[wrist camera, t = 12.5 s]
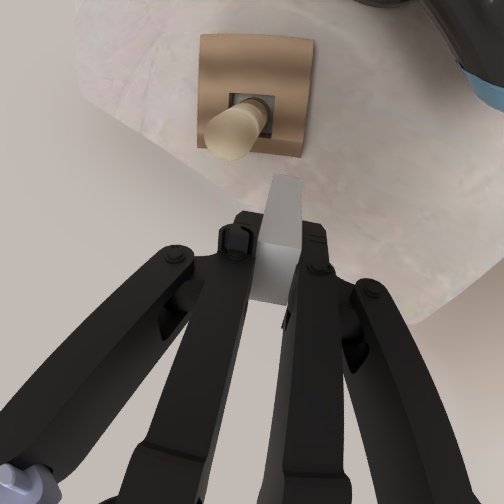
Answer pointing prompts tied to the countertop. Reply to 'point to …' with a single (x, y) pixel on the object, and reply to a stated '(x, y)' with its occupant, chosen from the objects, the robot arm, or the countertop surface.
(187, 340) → the robot arm
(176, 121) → the countertop surface
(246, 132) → the peg
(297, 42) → the board
